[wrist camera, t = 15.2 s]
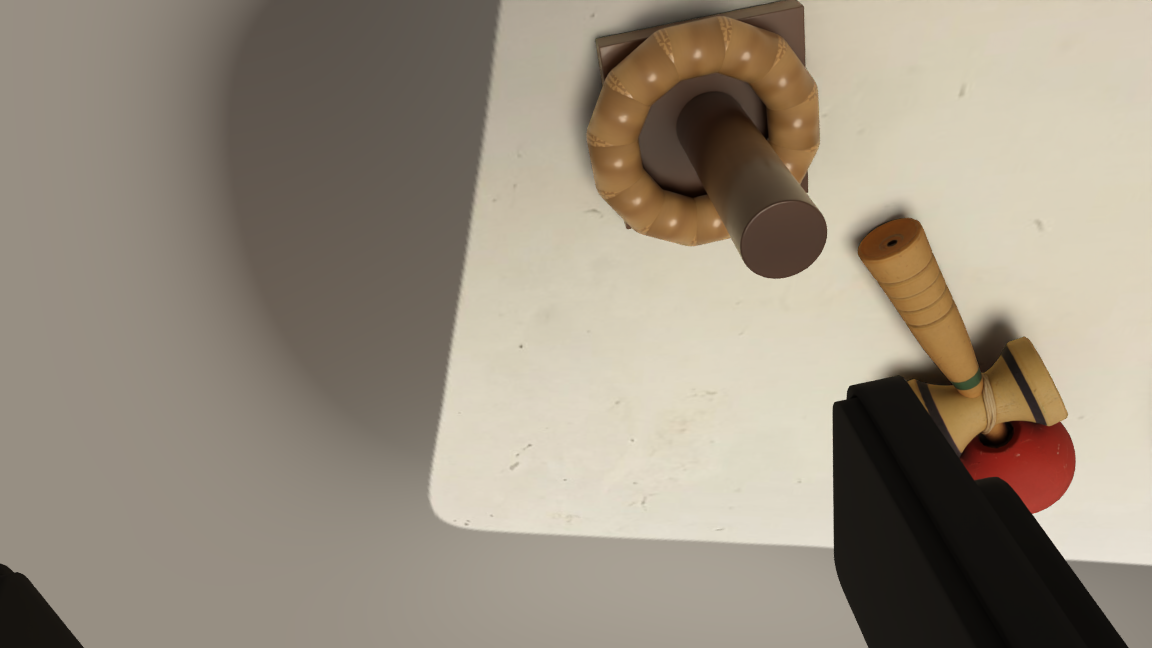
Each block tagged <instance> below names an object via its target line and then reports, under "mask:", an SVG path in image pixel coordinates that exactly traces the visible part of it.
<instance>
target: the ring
mask: <svg viewBox="0 0 1152 648" xmlns="http://www.w3.org/2000/svg"><path fill="white" fill-rule="evenodd" d="M714 73H719V74H722V75H725V76H728V77H731V78H735V79H738V80H741V81H744V82H747V83H748V84H749V85H750V86H751V87H752V89H753V90H754V91H755V93H756V94H757V95H758V96H759V98H760V99H761V100H762V102H763V103H764V104H765V105H766V110H767V124H768V139H767V141H768V143H769V144H770V145H771V147H772V148H773V149H774V151H775V152H776V153H777V155H778V156H779V157H780V159H781V160H782V161H783V163H784V164H785V165H786V167H787V168H788V169H789V171H790V172H791V173H792V175H793V176H794V177H795V179H796V180H797V181H798V183H799V184H801V182H802V180H803V178H804V176H805V174H806V172H807V170H808V168H809V166H810V164H811V162H812V160H813V158H814V156H815V154H816V152H817V150H818V148H819V144H820V128H819V102H818V88H817V85H816V82H815V81H814V79H813V78H812V76H811V75H810V74H809V72H808V71H807V69H806V68H805V67H804V65H803V64H802V63H801V61H800V60H799V58H798V57H797V56H796V54H795V53H794V52H793V50H792V49H791V47H790V46H789V45H788V43H787V42H786V41H785V40H784V39H783V38H782V37H781V36H779V35H778V34H775V33H773V32H770V31H767V30H764V29H761V28H758V27H755V26H752V25H750V24H747V23H744V22H741V21H738V20H735V19H732V18H729V17H726V16H716V17H711V18H707V19H702V20H698V21H693V22H689V23H684V24H680V25H676V26H671V27H667V28H663V29H660V30H658V31H656V32H654V33H653V34H652V35H651V36H650V37H648V38H647V39H646V40H645V41H644V42H643V43H642V44H640V45H639V46H638V47H637V48H636V49H635V50H634V51H633V52H631V53H630V54H629V55H628V56H627V57H626V58H625V59H624V60H622V61H621V62H620V63H619V64H618V65H617V66H616V67H614V68H613V69H612V70H611V71H610V72H609V74H608V75H607V77H606V79H605V81H604V84H603V87H602V90H601V92H600V95H599V98H598V101H597V103H596V106H595V109H594V112H593V114H592V117H591V120H590V123H589V125H588V129H587V144H588V149H589V154H590V159H591V164H592V169H593V174H594V179H595V185H596V188H597V190H598V192H599V194H600V196H601V197H602V198H603V199H604V200H605V201H606V202H607V203H608V204H609V205H610V206H611V207H612V208H613V209H614V210H615V211H616V212H617V213H618V214H619V215H620V216H621V217H622V218H623V220H624V221H625V222H626V223H627V224H628V225H629V226H630V227H631V228H632V229H633V230H635V231H636V232H638V233H640V234H643V235H647V236H651V237H654V238H658V239H662V240H666V241H669V242H673V243H677V244H681V245H685V246H697V245H702V244H706V243H711V242H715V241H720V240H724V239H729V238H731V237H730V235H729V233H728V231H727V229H726V228H725V226H724V224H723V222H722V220H721V218H720V216H719V215H718V213H717V211H716V209H715V207H714V205H713V203H712V202H711V200H710V198H709V196H708V194H707V195H702V196H698V197H693V198H691V197H688V196H684V195H681V194H677V193H674V192H670V191H666V190H663V189H662V188H661V187H660V186H659V185H658V184H657V183H656V182H655V181H654V180H653V179H652V177H651V176H650V175H649V174H648V173H647V172H646V171H645V170H644V169H643V165H642V158H641V152H640V146H639V140H638V138H639V135H640V133H641V130H642V128H643V125H644V123H645V120H646V118H647V115H648V113H649V110H650V108H651V106H652V105H653V104H654V103H655V102H656V101H657V100H659V99H660V98H661V97H662V96H663V95H665V94H666V93H667V92H668V91H669V90H670V89H672V88H673V87H674V86H675V85H676V84H677V83H679V82H680V81H682V80H687V79H691V78H696V77H700V76H705V75H709V74H714Z"/></svg>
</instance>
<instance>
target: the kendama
mask: <svg viewBox="0 0 1152 648" xmlns="http://www.w3.org/2000/svg"><path fill="white" fill-rule="evenodd" d="M858 255H859V257H860V259H861V261H862V262H863V263H864V265H865V266H866V267H867V268H868V270H869V271H870V272H871V274H872V275H873V277H874V278H875V279H876V280H877V282H878V283H879V285H880V286H881V288H882V289H883V291H884V292H885V293H886V295H887V296H888V298H889V299H890V301H891V302H892V304H893V305H894V306H895V308H896V309H897V311H898V312H899V314H900V315H901V317H902V319H903V320H904V321H905V322H906V324H907V326H908V327H909V329H910V330H911V332H912V333H913V335H914V336H915V338H916V339H917V341H918V342H919V343H920V345H921V346H922V348H923V349H924V350H925V352H926V353H927V354H928V355H929V357H930V358H931V359H932V360H933V361H934V363H935V364H936V365H937V366H938V368H939V369H940V370H941V371H942V373H943V374H944V375H945V376H946V377H947V378H948V380H949V381H950V382H951V383H952V384H953V385H949V386H943V385H932V384H927V383H924V382H921V381H918V380H915V379H912V380H910V381H907V382H908V384H909V385H910V387H911V388H912V390H913V391H914V392H915V394H916V395H917V397H918V398H919V400H920V401H921V403H922V404H923V406H924V407H925V409H926V410H927V412H928V413H929V415H930V416H931V417H932V419H933V420H934V422H935V423H936V425H937V426H938V428H939V429H940V431H941V432H942V434H943V435H944V437H945V438H946V440H947V441H948V443H949V444H950V445H951V447H952V448H953V450H954V451H955V453H956V454H957V456H958V457H959V459H960V460H961V462H962V463H963V465H964V466H965V468H966V469H967V470H968V472H969V473H970V475H971V476H972V478H973V479H974V480H978V479H983V478H988V477H999V478H1001V479H1003V480H1004V481H1006V482H1007V483H1008V484H1009V485H1010V486H1011V487H1012V488H1013V489H1014V491H1015V492H1016V493H1017V494H1018V495H1019V497H1020V498H1021V500H1022V501H1023V502H1024V504H1025V505H1026V507H1027V508H1028V509H1029V511H1030V512H1031V513H1032V514H1033V513H1037V512H1039V511H1042V510H1044V509H1046V508H1048V507H1049V506H1051V505H1052V504H1054V503H1055V502H1056V501H1057V500H1059V499H1060V498H1061V497H1062V496H1063V494H1064V493H1065V492H1066V490H1067V489H1068V487H1069V485H1070V483H1071V481H1072V479H1073V476H1074V471H1075V462H1076V461H1075V450H1074V446H1073V443H1072V440H1071V437H1070V435H1069V433H1068V432H1067V430H1066V428H1065V427H1064V426H1063V424H1062V423H1061V422H1060V421H1062V420H1064V419H1066V418H1067V416H1068V413H1067V411H1066V409H1065V406H1064V403H1063V401H1062V398H1061V396H1060V394H1059V392H1058V390H1057V388H1056V386H1055V384H1054V382H1053V380H1052V378H1051V376H1050V374H1049V372H1048V370H1047V369H1046V367H1045V365H1044V363H1043V361H1042V359H1041V357H1040V356H1039V354H1038V353H1037V351H1036V349H1035V348H1034V346H1033V344H1032V343H1031V341H1030V340H1029V339H1028V338H1026V337H1022V338H1019V339H1016V340H1013V341H1010V342H1008V343H1007V344H1006V346H1005V347H1004V349H1003V351H1002V353H1001V355H1000V357H999V358H998V360H997V361H996V362H995V364H994V365H993V366H992V367H991V368H990V369H989V370H988V371H986V372H985V373H981V372H980V369H979V365H978V363H977V359H976V356H975V353H974V350H973V347H972V344H971V341H970V338H969V335H968V333H967V330H966V328H965V325H964V323H963V320H962V318H961V316H960V313H959V311H958V309H957V306H956V304H955V302H954V300H953V298H952V295H951V293H950V291H949V289H948V287H947V285H946V283H945V280H944V277H943V275H942V273H941V271H940V269H939V266H938V264H937V261H936V259H935V257H934V255H933V253H932V250H931V247H930V245H929V242H928V239H927V237H926V234H925V232H924V229H923V227H922V225H921V224H920V222H919V221H917V220H915V219H912V218H900V219H896V220H892V221H889V222H887V223H885V224H883V225H881V226H879V227H877V228H876V229H874V230H873V231H871V232H870V233H869V234H868V235H867V236H866V237H865V238H864V239H863V240H862V242H861V243H860V245H859V247H858Z"/></svg>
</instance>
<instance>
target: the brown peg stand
mask: <svg viewBox="0 0 1152 648" xmlns="http://www.w3.org/2000/svg"><path fill="white" fill-rule="evenodd" d="M716 16H726V17H729V18H732V19H735V20H738V21H741V22H744V23H747V24H750V25H752V26H755V27H758V28H761V29H764V30H767V31H770V32H773V33H775V34H778V35H779V36H781V37H782V38H783V39H784V40H785V41H786V42H787V43H788V45H789V46H790V47H791V49H792V50H793V52H794V53H795V54H796V56H797V57H798V58H799V60H800V61H801V63H802V64H803V65H804V67H805V30H804V6H803V5H802V4H800V3H799V2H798V1H797V0H785V1H780V2H775V3H770V4H765V5H760V6H755V7H750V8H745V9H740V10H735V11H730V12H725V13H720V14H715V15H710V16H706V17H701V18H696V19H691V20H686V21H681V22H676V23H671V24H666V25H661V26H656V27H651V28H646V29H641V30H636V31H631V32H626V33H621V34H617V35H612V36H607V37H602V38H597V39H595V42H596V48H597V55H598V61H599V68H600V74H601V81H602V87H603V84H604V81H605V79H606V77H607V75H608V74H609V72H610V71H611V70H612V69H613V68H614V67H616V66H617V65H618V64H619V63H620V62H621V61H622V60H624V59H625V58H626V57H627V56H628V55H629V54H630V53H631V52H633V51H634V50H635V49H636V48H637V47H638V46H639V45H640V44H642V43H643V42H644V41H645V40H646V39H647V38H648V37H650V36H651V35H652V34H653V33H654V32H656V31H658V30H660V29H663V28H667V27H671V26H676V25H680V24H684V23H689V22H693V21H698V20H702V19H707V18H711V17H716ZM767 139H768V124H767V110H766V105H765V104H764V103H763V102H762V100H761V99H760V98H759V96H758V95H757V94H756V93H755V91H754V90H753V89H752V87H751V86H750V85H749V84H748V83H747V82H744V81H741V80H738V79H735V78H731V77H728V76H725V75H722V74H719V73H714V74H709V75H705V76H700V77H696V78H691V79H687V80H682V81H680V82H679V83H677V84H676V85H675V86H674V87H673V88H672V89H670V90H669V91H668V92H667V93H666V94H665V95H663V96H662V97H661V98H660V99H659V100H657V101H656V102H655V103H654V104H653V105H652V106H651V108H650V110H649V113H648V115H647V118H646V120H645V123H644V125H643V128H642V130H641V133H640V135H639V138H638V140H639V146H640V152H641V158H642V165H643V169H644V170H645V171H646V172H647V173H648V174H649V175H650V176H651V177H652V179H653V180H654V181H655V182H656V183H657V184H658V185H659V186H660V187H661V188H662V189H663V190H666V191H670V192H674V193H677V194H681V195H684V196H688V197H691V198H693V197H698V196H702V195H707V194H708V196H709V198H710V200H711V202H712V203H713V205H714V207H715V209H716V211H717V213H718V215H719V216H720V218H721V220H722V222H723V224H724V226H725V228H726V229H727V231H728V233H729V235H730V237H731V239H732V241H733V243H734V244H735V246H736V248H737V250H738V252H739V254H740V256H741V257H742V259H743V261H744V263H745V264H746V266H747V267H748V268H749V269H750V270H751V271H753V272H754V273H756V274H758V275H760V276H763V277H767V278H774V279H776V278H786V277H790V276H793V275H795V274H798V273H800V272H802V271H803V270H805V269H806V268H808V267H809V266H810V265H811V264H812V263H813V262H814V261H815V260H816V259H817V258H818V257H819V255H820V254H821V252H822V250H823V248H824V245H825V243H826V238H827V225H826V221H825V219H824V217H823V215H822V213H821V212H820V211H819V209H818V208H817V207H816V205H815V204H814V203H813V201H812V200H811V199H810V197H809V196H808V195H807V193H808V170H807V172H806V174H805V176H804V178H803V180H802V182H801V184H799V183H798V181H797V180H796V179H795V177H794V176H793V175H792V173H791V172H790V171H789V169H788V168H787V167H786V165H785V164H784V163H783V161H782V160H781V159H780V157H779V156H778V155H777V153H776V152H775V151H774V149H773V148H772V147H771V145H770V144H769V143H768V141H767ZM624 223H625V225H626V228H627V229H631V227H630V226H629V225H628V224H627V223H626V222H625V221H624Z"/></svg>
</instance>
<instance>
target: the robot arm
mask: <svg viewBox="0 0 1152 648" xmlns="http://www.w3.org/2000/svg"><path fill="white" fill-rule="evenodd" d="M833 504H834V560H835V566H836V571H837V575H838V578H839V581H840V584H841V586H842V589H843V591H844V593H845V596H846V598H847V600H848V603H849V605H850V607H851V609H852V611H853V614H854V616H855V618H856V621H857V623H858V625H859V627H860V629H861V632H862V634H863V636H864V639H865V641H866V643H867V645H868V648H1128V646H1127V645H1126V643H1125V642H1124V641H1123V639H1122V638H1121V637H1120V635H1119V634H1118V633H1117V631H1116V630H1115V628H1114V627H1113V626H1112V624H1111V623H1110V621H1109V620H1108V619H1107V617H1106V616H1105V615H1104V613H1103V612H1102V610H1101V609H1100V608H1099V606H1098V605H1097V603H1096V602H1095V601H1094V599H1093V598H1092V596H1091V595H1090V594H1089V592H1088V591H1087V590H1086V589H1085V587H1084V585H1083V584H1082V583H1081V581H1080V580H1079V578H1078V577H1077V576H1076V574H1075V573H1074V572H1073V570H1072V569H1071V567H1070V566H1069V565H1068V563H1067V562H1066V560H1065V559H1064V558H1063V556H1062V555H1061V554H1060V552H1059V551H1058V549H1057V548H1056V547H1055V545H1054V544H1053V543H1052V541H1051V540H1050V538H1049V537H1048V536H1047V534H1046V533H1045V531H1044V530H1043V529H1042V527H1041V526H1040V525H1039V523H1038V522H1037V520H1036V519H1035V518H1034V516H1033V515H1032V513H1031V512H1030V511H1029V509H1028V508H1027V507H1026V505H1025V504H1024V502H1023V501H1022V500H1021V498H1020V497H1019V495H1018V494H1017V493H1016V492H1015V491H1014V489H1013V488H1012V487H1011V486H1010V485H1009V484H1008V483H1007V482H1006V481H1004V480H1003V479H1001V478H999V477H988V478H983V479H978V480H974V479H973V478H972V476H971V475H970V473H969V472H968V470H967V469H966V468H965V466H964V465H963V463H962V462H961V460H960V459H959V457H958V456H957V454H956V453H955V451H954V450H953V448H952V447H951V445H950V444H949V443H948V441H947V440H946V438H945V437H944V435H943V434H942V432H941V431H940V429H939V428H938V426H937V425H936V423H935V422H934V420H933V419H932V417H931V416H930V415H929V413H928V412H927V410H926V409H925V407H924V406H923V404H922V403H921V401H920V400H919V398H918V397H917V395H916V394H915V392H914V391H913V390H912V388H911V387H910V385H909V384H908V382H907V381H906V380H905V379H904V378H903V377H901V376H894V377H889V378H884V379H880V380H875V381H870V382H865V383H860V384H855V385H851V386H849V388H848V391H847V400H842V401H837V402H834V405H833ZM0 648H84V647H83V646H82V645H81V644H80V642H79V641H78V640H77V639H76V637H75V636H74V635H73V634H72V633H71V631H70V630H69V629H68V628H67V626H66V625H65V624H64V623H63V621H62V620H61V619H60V618H59V616H58V615H57V614H56V613H55V612H54V610H53V609H52V608H51V607H50V605H49V604H48V603H47V602H46V600H45V599H44V598H43V597H42V595H41V594H40V593H39V592H38V590H37V589H36V588H35V587H34V586H33V584H32V583H31V582H30V581H29V579H28V578H27V577H26V576H24V575H23V574H21V573H18V572H16V573H14V572H13V571H12V570H11V569H10V568H8V567H7V566H5V565H3V564H0Z"/></svg>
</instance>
